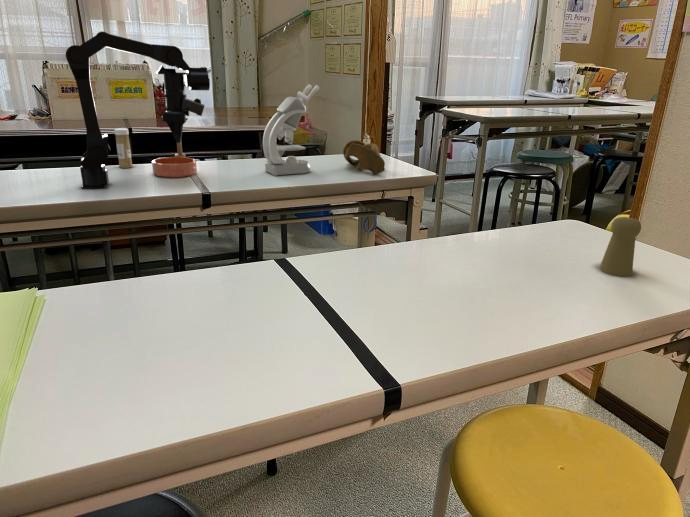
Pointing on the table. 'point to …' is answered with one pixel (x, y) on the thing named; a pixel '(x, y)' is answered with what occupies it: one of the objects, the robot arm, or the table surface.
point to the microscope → (286, 135)
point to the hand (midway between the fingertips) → (178, 142)
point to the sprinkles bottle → (123, 147)
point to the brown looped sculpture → (364, 156)
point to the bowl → (174, 166)
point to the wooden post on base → (179, 150)
